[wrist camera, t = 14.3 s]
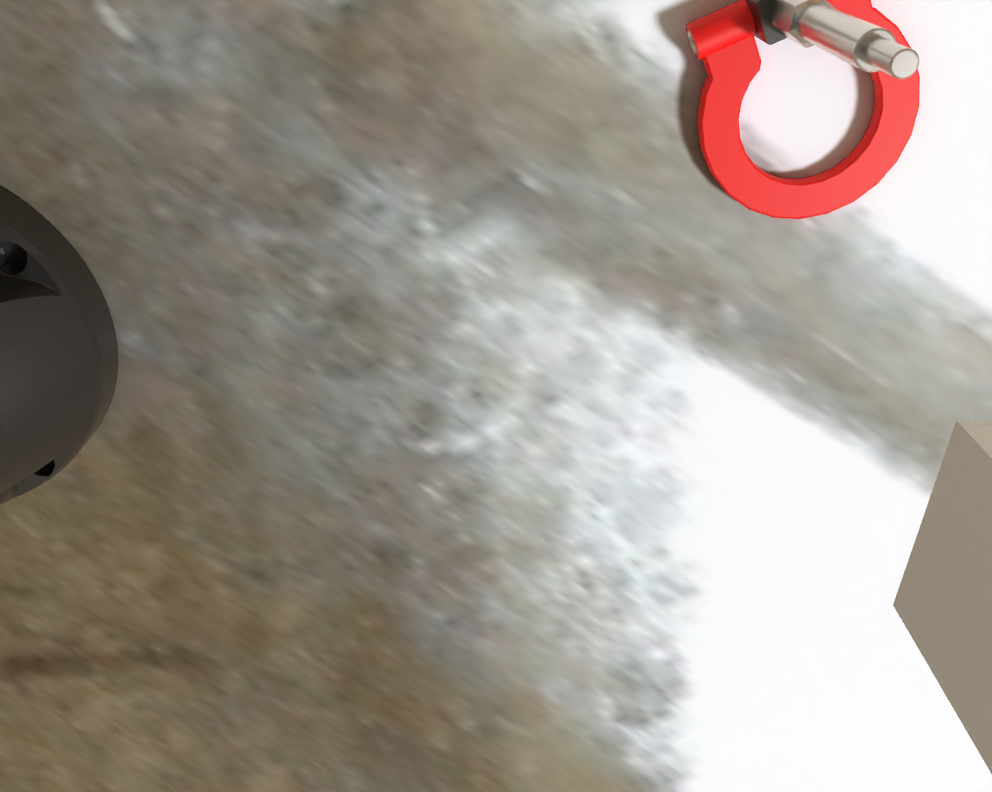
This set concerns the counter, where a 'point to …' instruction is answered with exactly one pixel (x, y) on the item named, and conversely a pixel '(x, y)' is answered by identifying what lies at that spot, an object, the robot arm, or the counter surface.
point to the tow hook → (807, 21)
